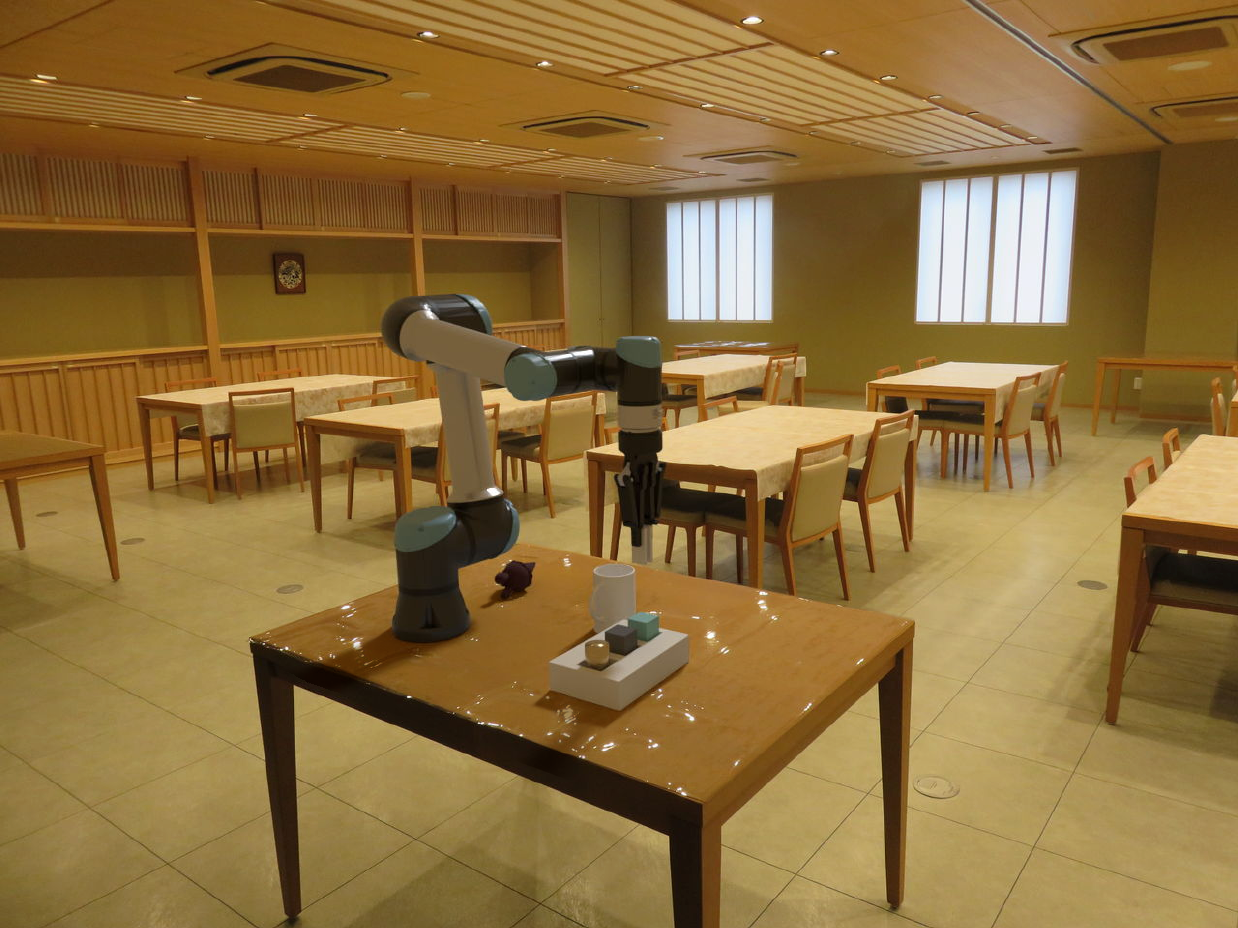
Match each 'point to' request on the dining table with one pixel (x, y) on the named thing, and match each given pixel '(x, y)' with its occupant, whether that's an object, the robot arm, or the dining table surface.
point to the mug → (612, 595)
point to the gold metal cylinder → (597, 655)
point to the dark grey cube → (621, 639)
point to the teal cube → (645, 625)
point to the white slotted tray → (619, 669)
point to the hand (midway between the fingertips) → (642, 561)
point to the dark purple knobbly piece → (515, 577)
